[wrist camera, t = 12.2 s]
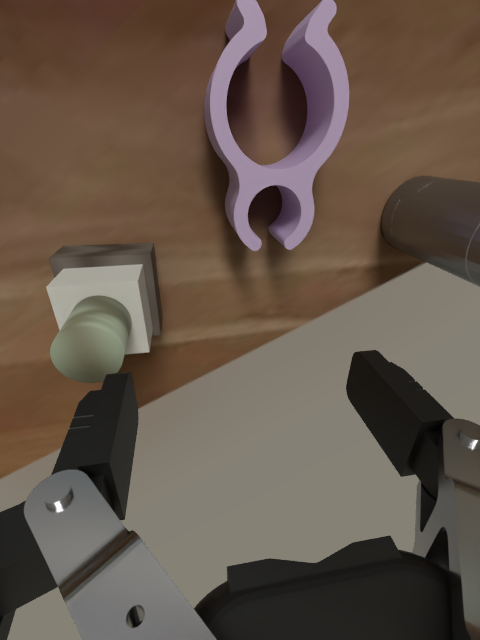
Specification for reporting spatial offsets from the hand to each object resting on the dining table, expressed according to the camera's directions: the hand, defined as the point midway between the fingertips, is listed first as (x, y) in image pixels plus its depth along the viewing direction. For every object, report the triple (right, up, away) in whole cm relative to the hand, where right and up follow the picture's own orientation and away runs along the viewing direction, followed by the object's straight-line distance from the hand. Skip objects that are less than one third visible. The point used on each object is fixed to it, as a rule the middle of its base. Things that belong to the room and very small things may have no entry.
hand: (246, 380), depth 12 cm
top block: (-15, +4, +24) cm, 29 cm away
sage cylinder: (-14, +2, +20) cm, 24 cm away
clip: (+2, +22, +24) cm, 32 cm away
